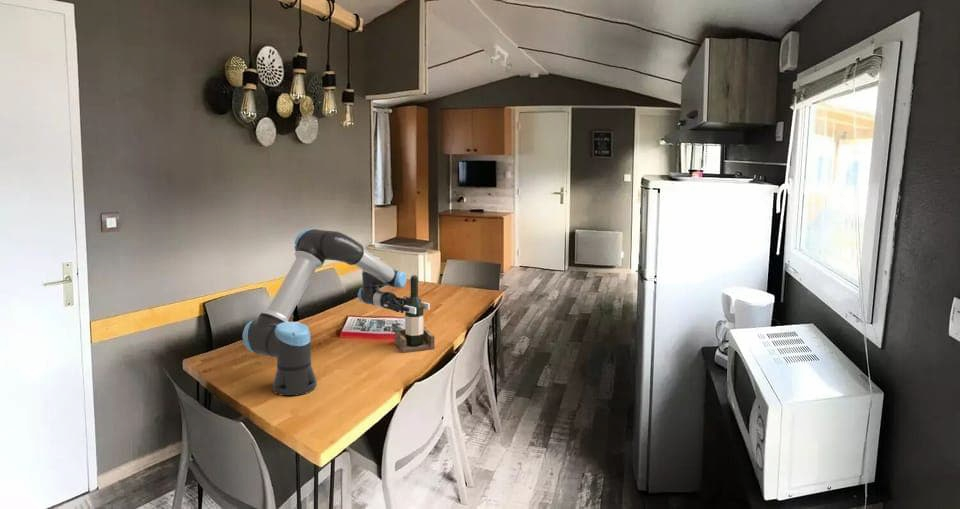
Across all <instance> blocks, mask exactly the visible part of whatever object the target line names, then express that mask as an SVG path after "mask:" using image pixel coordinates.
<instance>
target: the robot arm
mask: <svg viewBox="0 0 960 509" xmlns="http://www.w3.org/2000/svg"><path fill="white" fill-rule="evenodd" d="M294 244H295V245H294V251H295V252H294V256H295V260H294V261H293V263H292V265H291V267H290V269H289V270H288V272H287V274H286V276H285V277H284V279H283V281H282V283H281V284H280V287H279V289H278V290H277V292H276V294H275V295H274V298H273V299H272V300H271V303H270V304H269V306H268V308H267V309H266V311H263V312H260V313H259V315H258V317H257V319H254V320H251V321H249V322H247V323H246V325H245V326H244V329H243V331H242V340H243V342H242V343H243V346H244V347H245V349H247V350H248V351H249V352H253V353H255V354H257V355H263V356H268V357H271V358H272V357H273V358H276V372H275V376H274V378H273V382H272V391H273V390H274V391H273V393H275V392H276V393H278V394H282V395H296V394H302V393H306V392H309V391H311V390H313V389H314V388H315V387H316V386H318V383H317V382H318V380H317V377H316V375H315V372H314V369H313V367H312V352H311V347H312V346H311V344H312V343H311V333H310V329H309V327H308V326H307V325H306V324H304V323H302V322H300V321H299V322H298V321H293V322H288V320H289V318H290V316H291V314H292V315H293V313H294V311H295V309H296V306H297V305H298V304H299V302H300V300H301V298H302V296H303V294H304V292H305V290H306V288H307V287H308V285H309V283H310V281H311V279H312V277H313V275H314V274H315V272H316V269H319V268H322V267H323V265H324V264H325V261H326V260H327V261H337V262H341V263H345V264H347V265H349V266H355V267H357V268H358V269H360V270H362V272H361V273H362V274H361V275H362V276H361V278H362V287H360V288H359V289H358V293H357V298H358V300H359V301H360V302H361V303H364V304H367V305H370V306H371V305H372V306H375V307H379V308H381V309H383V308H384V309H387V310H391V311H394V312H396V313H400V314H404V313H405V312H408V313H412V314H416V308H415V307H411V306H407V305H405V304H406V303H407V301H408V299H409V298H410V297H409V296H403V297H399V296H397V295H396V294H395V293H394V292H389V291H386V290H381V289H380V288H379V287H380V286H386V287H390V288H391V287H392V288H395V289H396V288H399V289H401V288H404V287H405V286H406V284H407V280H408V279H407V278H408V276H407V274H406V272H405V271H401V270H396V269H395V268H393V267H391V266H390V265H388V264H387V263H385V262H384V261H382V260H381V259H379V258H378V257H377V256H375V255H373V254H372V253H370V252H369V251H367V250H365V247H364V246H363V244H361V243H360V242H358V241H357V240H355V239H353V238H352V237H350V236H349V235H347V234H345V233H342V232H340V231H335V230H326V229H318V228H307V229H304V230H302V231H300V232H299V233H298V234H297V236H296V238H295V241H294ZM419 299H420V300H421V302H422V304H423V310H428V311H430V307H431V306H430V303H428V302H423V301H422V299H421V298H419ZM316 388H317V387H316ZM316 388H315V389H316ZM315 389H314V390H315ZM314 390H313V391H314ZM311 392H312V391H311ZM276 393H275V394H276ZM309 393H310V392H309ZM278 394H277V395H278ZM306 394H307V393H306ZM282 395H281V396H282ZM302 395H303V394H302Z"/></svg>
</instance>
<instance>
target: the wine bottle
mask: <svg viewBox="0 0 960 509" xmlns="http://www.w3.org/2000/svg"><path fill="white" fill-rule="evenodd" d="M408 298H409V299H408V301H407V303H406V304H405V305H407V306H411V307H415V308H416V314H412V313H408V312H404V313H405V314H404V316H405V317H404V320H405V324H404V325H405V326H404V329H405V338H406V340H407V344H410V345H419V344H421V343H423V327H424V309H423V304H422V302H423V301H422V299H421V298H420V297H419V277H418V275H416V274H413V275H411V277H410V296H409V297H408ZM420 299H421V300H420Z"/></svg>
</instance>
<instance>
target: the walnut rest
mask: <svg viewBox="0 0 960 509" xmlns="http://www.w3.org/2000/svg"><path fill="white" fill-rule="evenodd" d="M394 344H395V345H396V346H397V347H398V348H399V349H400V351H401V352H402V353H403V354H407V353H414V352H415V353H416V352H423V351H429V350H435V335H434V334H433V333H432V332H430V330H429V329H428V328H426V327H425V326H423V343H421V344H419V345H410V344H407V340H406V338H405V328H403V329H395V330H394Z"/></svg>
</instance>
